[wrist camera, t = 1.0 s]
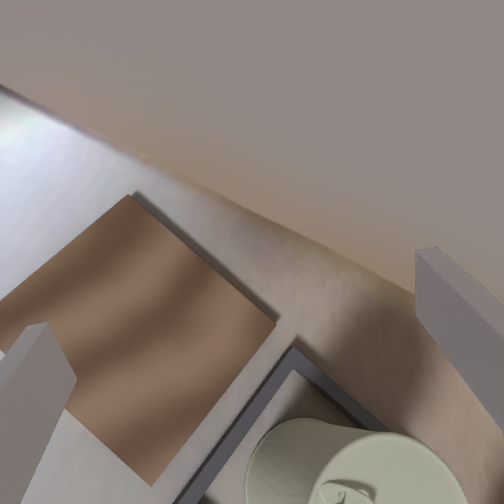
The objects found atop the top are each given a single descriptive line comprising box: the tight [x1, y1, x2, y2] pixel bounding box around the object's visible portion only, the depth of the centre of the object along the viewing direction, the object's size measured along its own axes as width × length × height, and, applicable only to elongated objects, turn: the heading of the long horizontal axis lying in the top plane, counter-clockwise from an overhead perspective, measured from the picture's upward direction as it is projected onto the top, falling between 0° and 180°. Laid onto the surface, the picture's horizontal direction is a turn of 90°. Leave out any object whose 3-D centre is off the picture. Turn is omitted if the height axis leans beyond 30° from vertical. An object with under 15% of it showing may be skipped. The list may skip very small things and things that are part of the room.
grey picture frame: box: [173, 346, 390, 504], centre depth 28 cm, size 14×14×1 cm
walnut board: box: [0, 194, 277, 486], centre depth 29 cm, size 16×14×1 cm
